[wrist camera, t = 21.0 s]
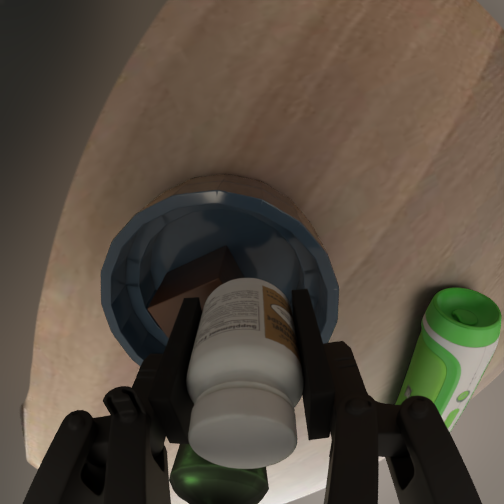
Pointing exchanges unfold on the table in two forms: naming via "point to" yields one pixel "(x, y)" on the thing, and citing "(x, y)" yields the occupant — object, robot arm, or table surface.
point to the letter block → (192, 285)
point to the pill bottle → (245, 377)
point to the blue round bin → (208, 240)
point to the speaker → (452, 350)
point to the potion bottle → (215, 481)
